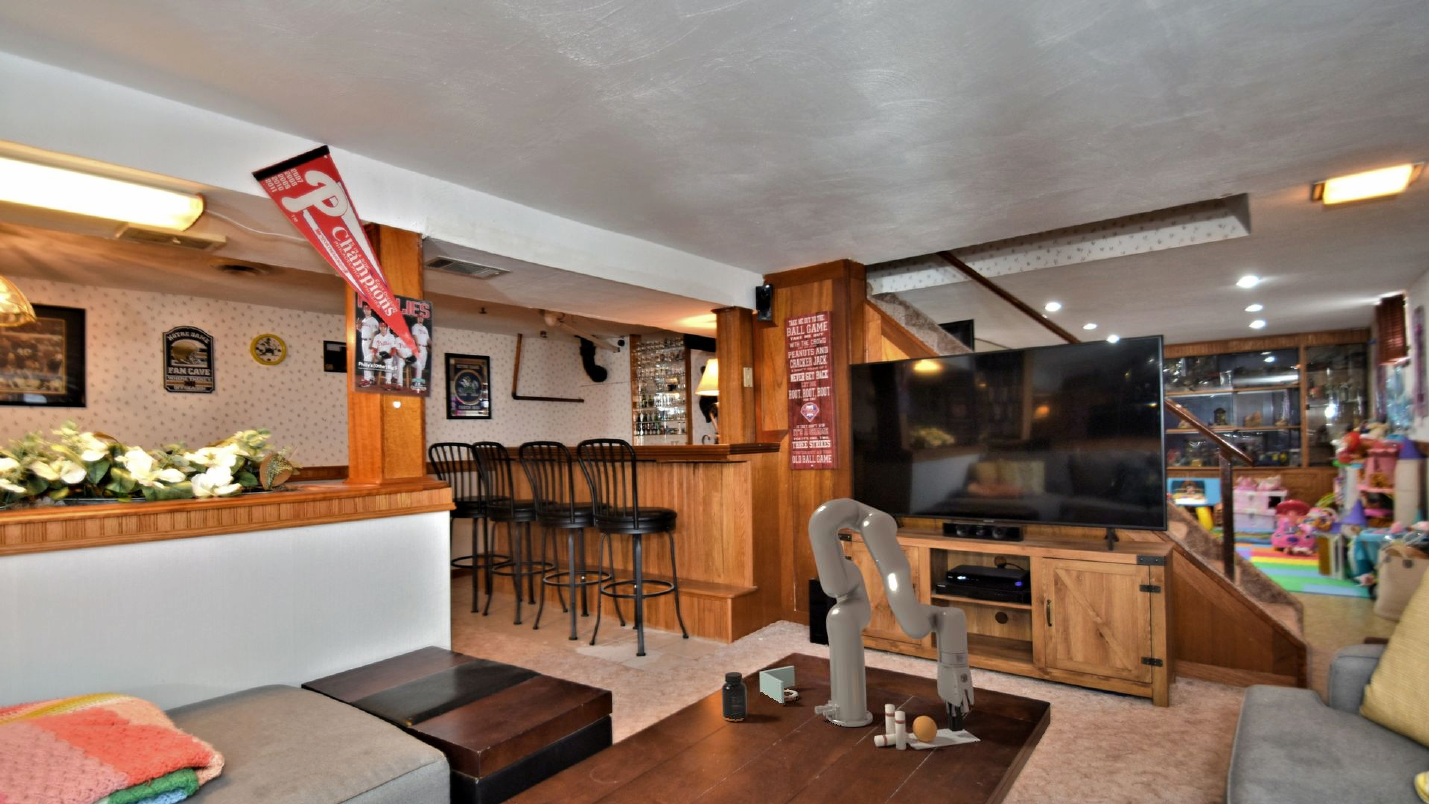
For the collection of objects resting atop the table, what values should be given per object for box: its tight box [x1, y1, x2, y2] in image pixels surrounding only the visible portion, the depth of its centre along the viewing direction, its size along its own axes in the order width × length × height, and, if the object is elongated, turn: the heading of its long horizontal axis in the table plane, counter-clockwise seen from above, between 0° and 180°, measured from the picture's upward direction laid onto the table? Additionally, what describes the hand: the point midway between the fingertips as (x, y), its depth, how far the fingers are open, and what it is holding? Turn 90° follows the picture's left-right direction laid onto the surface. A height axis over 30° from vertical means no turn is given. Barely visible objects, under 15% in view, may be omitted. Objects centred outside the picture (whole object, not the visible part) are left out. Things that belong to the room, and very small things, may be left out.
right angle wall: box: [759, 665, 799, 704], centre depth 214 cm, size 12×12×8 cm
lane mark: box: [907, 728, 981, 750], centre depth 181 cm, size 18×9×1 cm, turn 104°
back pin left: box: [884, 703, 896, 735], centre depth 181 cm, size 2×2×8 cm
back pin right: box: [895, 710, 907, 751], centre depth 176 cm, size 2×2×8 cm
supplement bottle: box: [721, 671, 748, 720], centre depth 198 cm, size 7×7×12 cm
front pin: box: [873, 731, 910, 747], centre depth 178 cm, size 2×2×8 cm
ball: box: [912, 715, 938, 742], centre depth 179 cm, size 6×6×6 cm
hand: (955, 729), depth 182 cm, fingers closed
